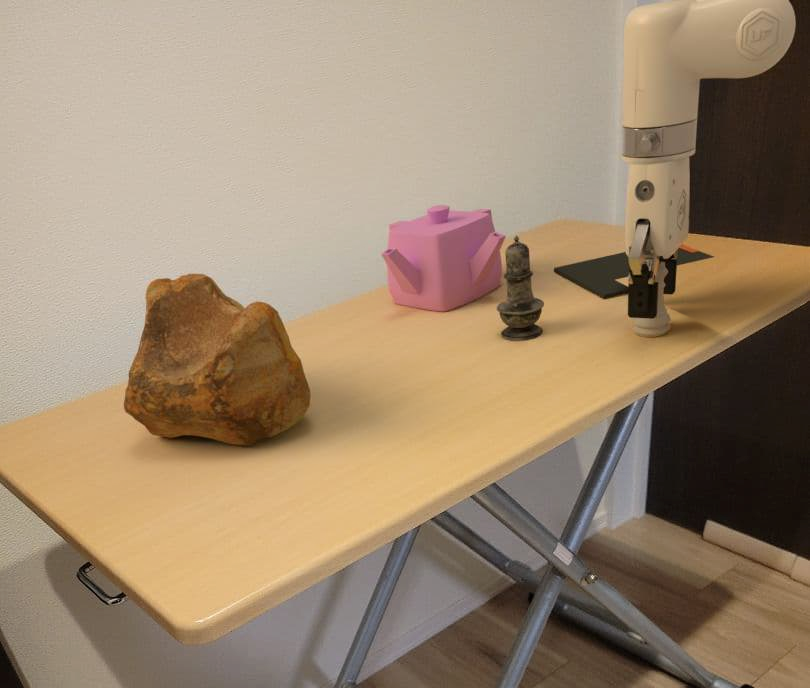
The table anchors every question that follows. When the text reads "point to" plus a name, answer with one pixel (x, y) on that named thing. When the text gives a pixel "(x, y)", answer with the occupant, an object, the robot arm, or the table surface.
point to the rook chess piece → (660, 322)
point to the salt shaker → (519, 296)
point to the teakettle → (443, 259)
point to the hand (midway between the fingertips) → (652, 304)
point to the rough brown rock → (213, 366)
